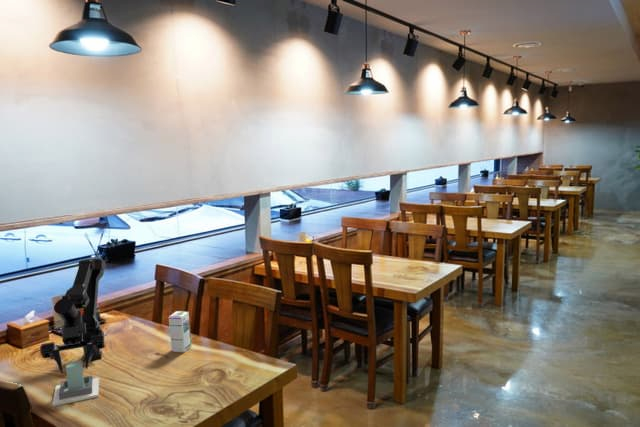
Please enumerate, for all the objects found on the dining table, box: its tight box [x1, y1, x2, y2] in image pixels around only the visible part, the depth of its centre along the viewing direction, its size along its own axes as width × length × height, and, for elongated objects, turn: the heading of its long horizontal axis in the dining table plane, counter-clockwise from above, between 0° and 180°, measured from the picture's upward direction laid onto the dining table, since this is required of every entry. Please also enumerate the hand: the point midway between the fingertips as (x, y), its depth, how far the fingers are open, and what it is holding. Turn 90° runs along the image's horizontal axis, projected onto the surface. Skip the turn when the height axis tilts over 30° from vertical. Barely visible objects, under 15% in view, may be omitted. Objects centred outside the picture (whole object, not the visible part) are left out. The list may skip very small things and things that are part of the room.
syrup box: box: [168, 310, 192, 353], centre depth 193 cm, size 6×6×14 cm
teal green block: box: [65, 359, 85, 391], centre depth 161 cm, size 4×4×9 cm
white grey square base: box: [52, 374, 100, 407], centre depth 162 cm, size 13×13×3 cm
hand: (74, 370), depth 160 cm, fingers open, 7 cm apart
